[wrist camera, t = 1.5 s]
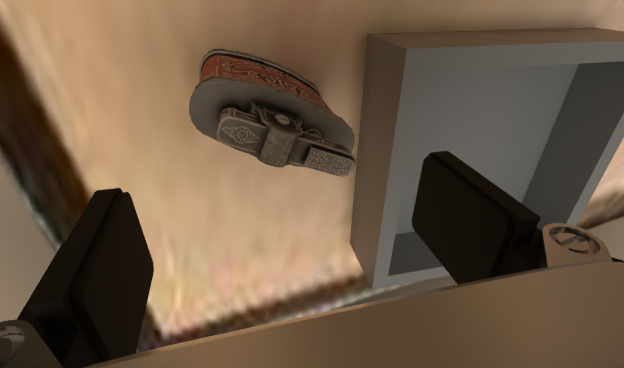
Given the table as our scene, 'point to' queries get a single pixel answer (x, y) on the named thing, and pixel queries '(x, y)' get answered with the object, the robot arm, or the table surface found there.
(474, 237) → the robot arm
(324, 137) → the lighter
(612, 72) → the bin
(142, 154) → the table surface
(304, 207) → the table surface
